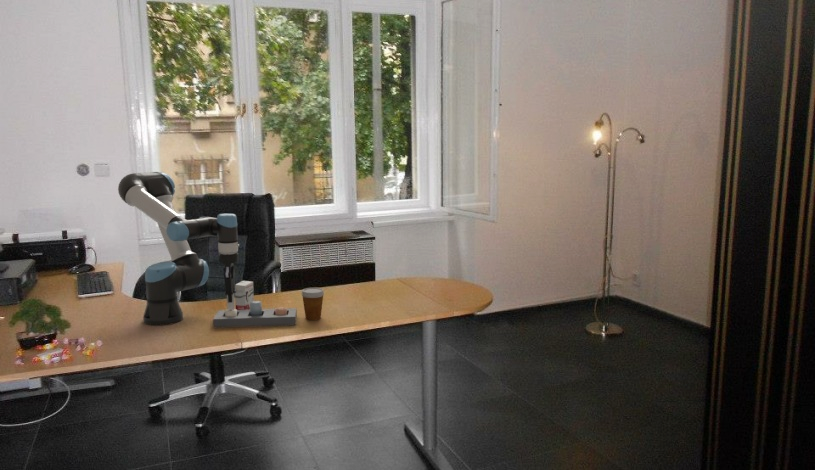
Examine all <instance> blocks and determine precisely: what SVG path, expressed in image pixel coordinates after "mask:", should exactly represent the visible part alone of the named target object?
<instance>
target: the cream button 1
mask: <svg viewBox="0 0 815 470" xmlns="http://www.w3.org/2000/svg"><path fill="white" fill-rule="evenodd" d="M224 310H225V317H229V316H237V309H236V308H235V309H234V310H227V309H224Z"/></svg>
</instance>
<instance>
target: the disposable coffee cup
mask: <svg viewBox="0 0 815 470" xmlns="http://www.w3.org/2000/svg"><path fill="white" fill-rule="evenodd" d="M324 295H325V291H324V289H323V288H320V287H307V288H303V289H302V290H301V296H302V301H303V310H304V315H305V317H304V318H305V319H306V320H309V321H317V320H320V319H321V317H322V310H323V309H322V308H323V301H324V300H323V299H324Z"/></svg>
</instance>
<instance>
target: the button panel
mask: <svg viewBox="0 0 815 470" xmlns="http://www.w3.org/2000/svg"><path fill="white" fill-rule="evenodd" d="M275 309H276V308H262V315H259V316H252V315H250V309H249V310H237V316H229V317H225V310H226V309H223V310H217V312H216V314H215V315H214V317H213V319H212V325H213V328H214V329H216V328H243V327H250V328H251V327H273V326H274V327H276V326H296V321H297V309H298V308H296V307H292V308H290V307H289V308H287V315H275Z"/></svg>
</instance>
